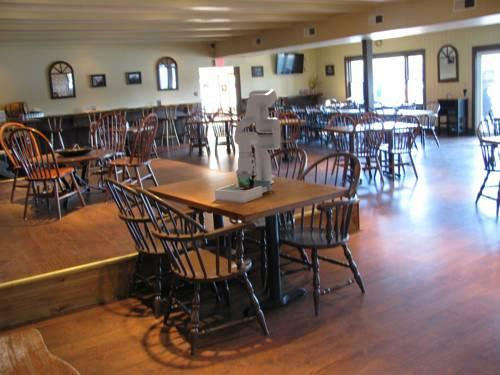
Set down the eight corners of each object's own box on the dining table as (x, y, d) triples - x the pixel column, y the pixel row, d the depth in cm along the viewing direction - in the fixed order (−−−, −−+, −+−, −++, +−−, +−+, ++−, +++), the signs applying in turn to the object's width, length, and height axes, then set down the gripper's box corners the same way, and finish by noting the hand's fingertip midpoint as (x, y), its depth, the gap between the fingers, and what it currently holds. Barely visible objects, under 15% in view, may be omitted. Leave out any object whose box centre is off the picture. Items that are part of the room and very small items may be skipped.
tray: (243, 188, 316) (242, 179, 315) (270, 190, 305) (270, 180, 303) (225, 194, 302) (224, 184, 301) (253, 197, 290) (252, 186, 289)
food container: (244, 191, 296) (243, 174, 294) (237, 190, 301) (236, 173, 299) (260, 187, 304) (259, 171, 302) (253, 186, 309) (252, 170, 306)
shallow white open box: (234, 193, 309) (234, 183, 308) (262, 196, 298) (261, 186, 297) (215, 200, 294) (214, 190, 293) (243, 203, 283) (243, 192, 282)
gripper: (261, 154, 297) (263, 185, 300) (237, 153, 306) (239, 183, 310) (253, 156, 291) (255, 187, 294) (229, 155, 300) (231, 185, 304)
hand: (247, 185), depth 302 cm, fingers closed on food container, 5 cm apart
